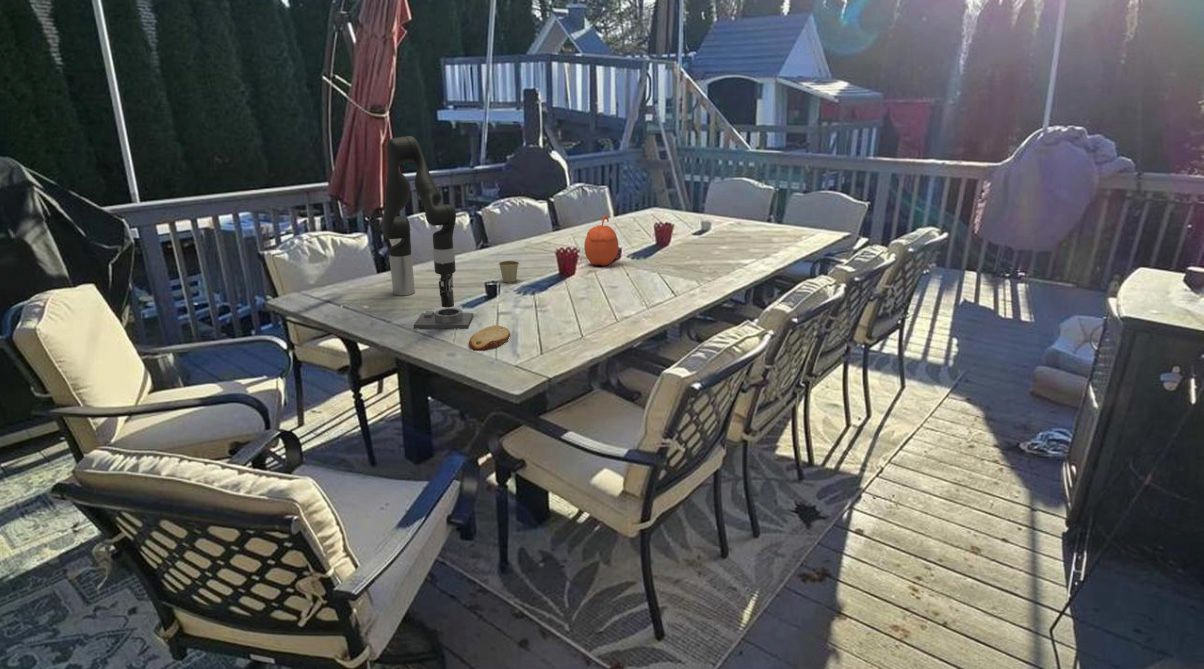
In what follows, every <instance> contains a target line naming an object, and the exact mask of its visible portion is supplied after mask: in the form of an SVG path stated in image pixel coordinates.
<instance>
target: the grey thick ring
mask: <svg viewBox="0 0 1204 669" xmlns="http://www.w3.org/2000/svg"><path fill="white" fill-rule="evenodd" d="M463 313H464V312H463V310H462V309H460V308H457V307H449V308H445V307H444V308H440V309H438V310H435V311H434V314H435V321H436V322H437V323H440V324H453V323H458V322H460V321H462V319H463Z"/></svg>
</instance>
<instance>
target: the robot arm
mask: <svg viewBox="0 0 1204 669" xmlns="http://www.w3.org/2000/svg"><path fill="white" fill-rule="evenodd" d="M386 162H387V163H386V164H387V166H386V167H387V168H386V169H387V171H386V184H385V204H384V213H383V216H382V217H383V218H382V226H381V227H382V229H381V230H382V234H383V236H384V238H385V239H387V240H399V239H400V241H399V242H398V243H396V244H394V245H392V246H389V248H388V257H389V258H388V260H389V265H390V266H389V267H390V274H391V276H390V277H391V285H392V294H393V295H394V296H409V295H413V294H415V293H416V290H415V288H416V287H415V277H414V268H413V254H412V243H411V242H412V241H411V225H410V224H411V223H410V221H409V218H408V217H407V216H405V215H399V216H398V214H399V213H400V212H401V211H402V210H403V209H404V208H405V207H406V206H407V204H408V203H409V201H410V198H411V183H410V181H409V180H408V179H407V177H406V176H405V175H404V174H403V173H402V171H401V170H400V165H401V164H405V163H412V162H413V163H414V164H415V165H416V173H415V178H414V187H415V190H416V193H417V194H418V197H419V198H420V200H421V202H422V205H423V209H424V214H425V220H426V222H427V223H428V224H429V225H431V226H433V227H437V226H438V227H439V226H442V227H441V229H439V230H437V231H435V232H434V233H432V242H433V243H432V244H433V253H432V254H433V266H434V273H435V274H437V275H440V277H439V281H438V287H439V289H438V290H439V296H440V298H441V297H442V301H443V306H449V297H448V296H449V290H450V289H452V290H453V291H454V289H453V288H454V281H453V280H454V277H453V274H454V273H455V272H456V259H455V258H456V256H455V249H454V239H453V238H454V230H455V226H456V220H457V213H456V210H455V208H454V206H453V205H451V204H442V205H441V204H440V203H441V201H442V195H441V193H440V191H439V189H438V187H437V186H436V183H435V182H434V180H433V178H432V176H431V174H430V171H429V168H428V165H427V162H426V160H425V157H424V154H423V151H422V149H421V146H420V144H419V142H418V141H417V138H416V137H414V136H411V135H406V136H399V137H398V136H397V137H393V138H389V140H388V141H387V144H386ZM443 291H445V293H443Z"/></svg>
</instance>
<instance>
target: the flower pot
mask: <svg viewBox="0 0 1204 669" xmlns="http://www.w3.org/2000/svg"><path fill="white" fill-rule="evenodd" d="M519 264H520V262H519V261H516V260H503V261H500V262H498V265H499V269H500V272H501V277H502V282H503V283H509V284H510V283H514V282H517V279H518V278H517V276H518V269H519V268H518V267H519Z"/></svg>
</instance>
